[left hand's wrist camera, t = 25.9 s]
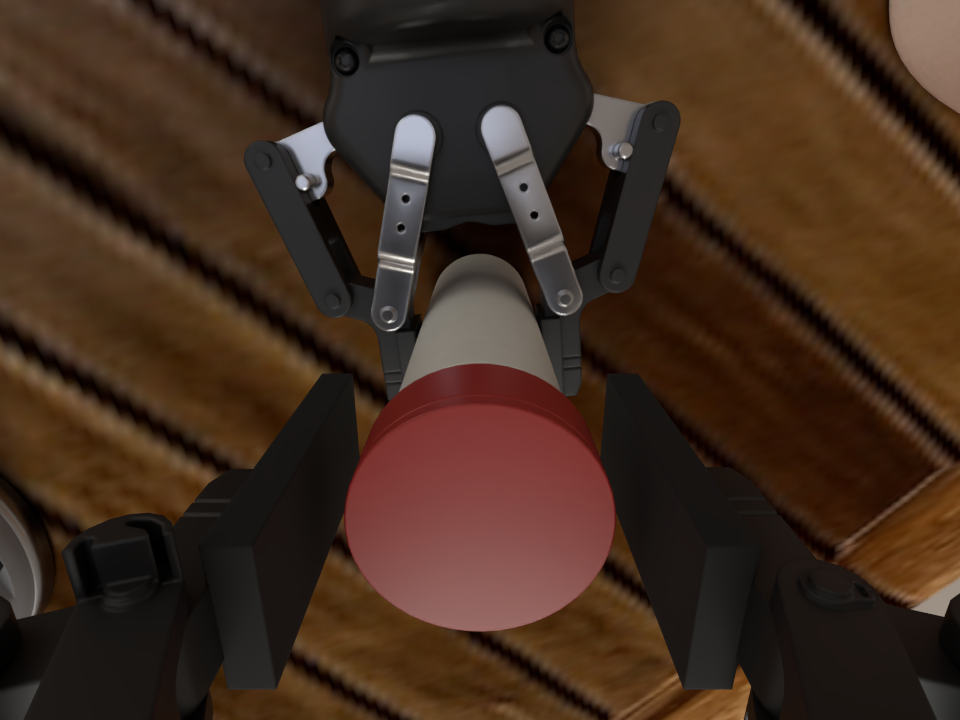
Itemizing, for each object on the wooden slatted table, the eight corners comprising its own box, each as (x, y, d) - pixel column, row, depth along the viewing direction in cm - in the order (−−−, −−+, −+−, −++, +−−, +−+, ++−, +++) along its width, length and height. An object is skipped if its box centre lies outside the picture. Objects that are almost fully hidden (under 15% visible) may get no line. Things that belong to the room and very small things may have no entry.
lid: (640, 482, 12) (670, 542, 10) (466, 598, 13) (464, 671, 11) (496, 312, 11) (499, 345, 9) (316, 457, 12) (285, 512, 10)
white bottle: (543, 317, 27) (624, 526, 12) (463, 360, 27) (443, 609, 12) (497, 235, 25) (524, 352, 10) (415, 283, 26) (328, 457, 11)
